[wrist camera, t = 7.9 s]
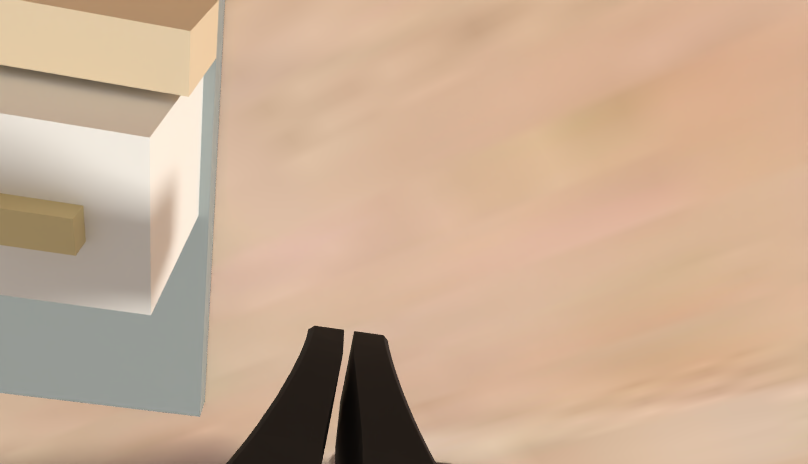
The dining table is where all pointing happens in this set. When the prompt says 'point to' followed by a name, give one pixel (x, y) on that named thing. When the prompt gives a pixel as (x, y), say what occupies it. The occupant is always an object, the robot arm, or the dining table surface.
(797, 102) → the dining table surface
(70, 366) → the board
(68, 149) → the cabinet block
